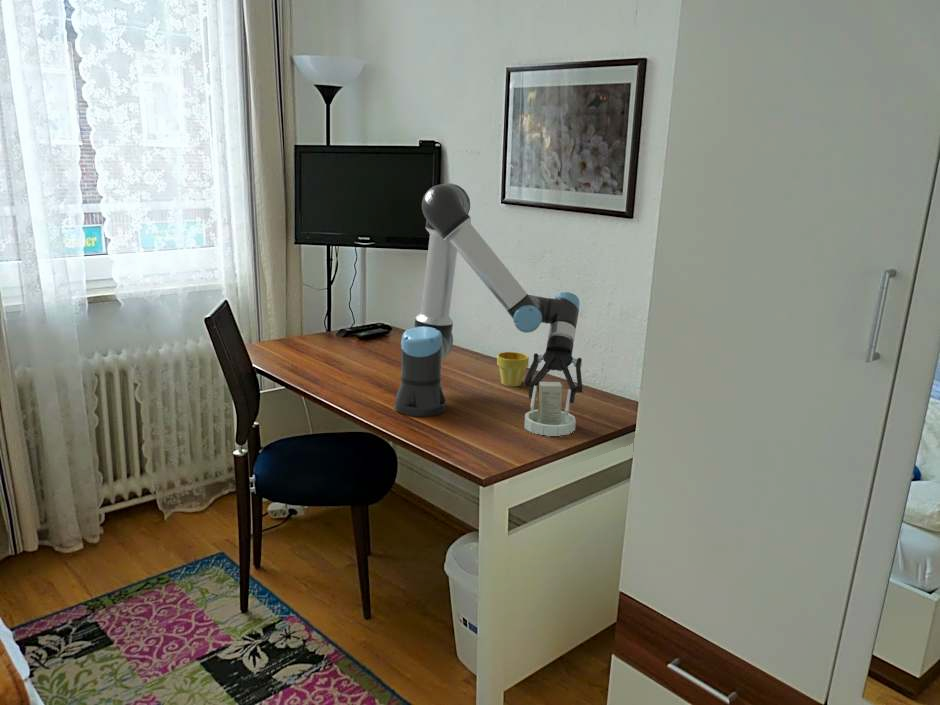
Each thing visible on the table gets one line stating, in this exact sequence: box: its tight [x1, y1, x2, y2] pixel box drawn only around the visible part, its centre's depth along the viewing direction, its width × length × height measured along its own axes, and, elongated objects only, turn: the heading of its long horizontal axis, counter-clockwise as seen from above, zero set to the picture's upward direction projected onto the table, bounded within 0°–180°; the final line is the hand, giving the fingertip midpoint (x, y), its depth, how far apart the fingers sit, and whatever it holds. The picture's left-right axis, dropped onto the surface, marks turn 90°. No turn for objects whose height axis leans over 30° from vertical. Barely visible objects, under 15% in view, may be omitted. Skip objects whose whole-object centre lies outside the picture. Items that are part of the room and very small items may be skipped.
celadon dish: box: [523, 408, 577, 437], centre depth 206 cm, size 14×14×3 cm
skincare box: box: [537, 381, 563, 425], centre depth 205 cm, size 6×4×12 cm
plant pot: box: [496, 351, 530, 388], centre depth 244 cm, size 10×10×10 cm
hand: (549, 410), depth 202 cm, fingers open, 9 cm apart
